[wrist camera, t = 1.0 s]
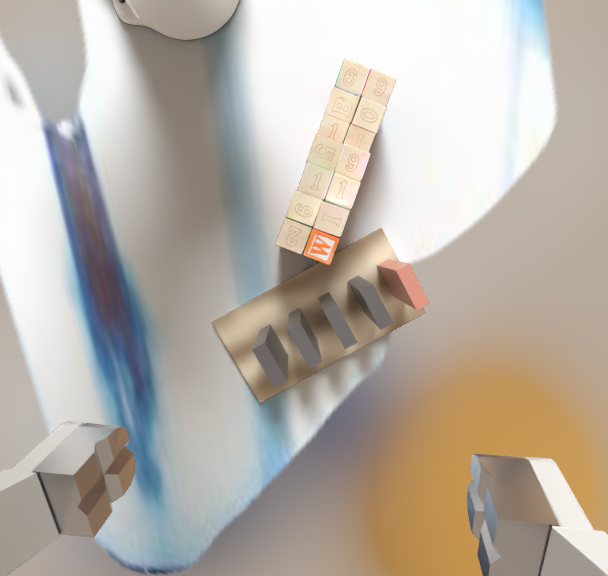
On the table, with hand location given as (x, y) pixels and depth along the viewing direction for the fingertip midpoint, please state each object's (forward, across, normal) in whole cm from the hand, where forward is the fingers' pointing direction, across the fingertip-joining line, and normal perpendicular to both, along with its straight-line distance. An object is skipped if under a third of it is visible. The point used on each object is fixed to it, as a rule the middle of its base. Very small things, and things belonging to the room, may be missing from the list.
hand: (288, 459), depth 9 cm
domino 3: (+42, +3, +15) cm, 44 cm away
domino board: (+42, +5, +16) cm, 45 cm away
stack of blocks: (+47, +4, -2) cm, 48 cm away
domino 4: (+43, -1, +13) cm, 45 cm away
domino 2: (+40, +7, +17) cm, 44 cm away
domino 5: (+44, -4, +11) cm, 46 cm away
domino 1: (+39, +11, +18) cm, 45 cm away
